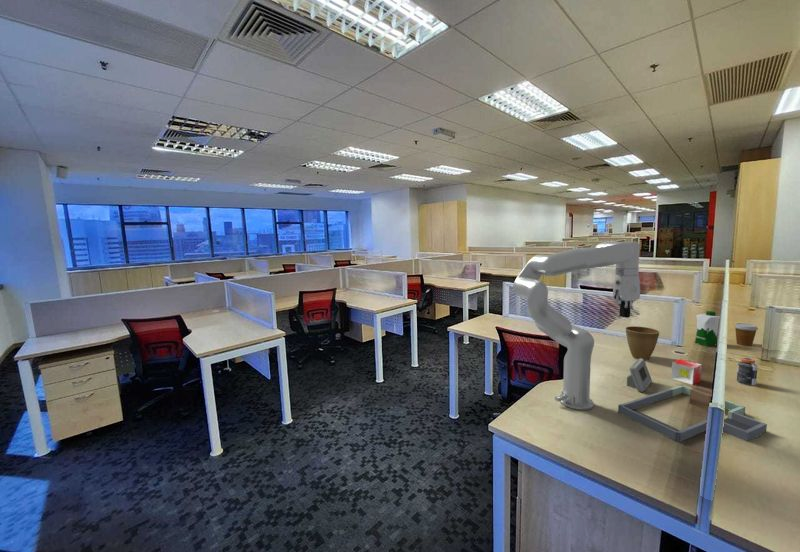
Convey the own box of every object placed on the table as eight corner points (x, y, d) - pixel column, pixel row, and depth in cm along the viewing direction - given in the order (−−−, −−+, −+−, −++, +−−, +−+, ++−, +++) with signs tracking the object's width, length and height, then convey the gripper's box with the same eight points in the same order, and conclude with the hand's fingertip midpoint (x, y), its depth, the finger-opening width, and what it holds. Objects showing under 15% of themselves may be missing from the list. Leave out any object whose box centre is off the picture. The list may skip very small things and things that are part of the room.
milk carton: (720, 345, 189) (722, 313, 187) (707, 347, 187) (710, 314, 185) (703, 341, 197) (705, 309, 195) (691, 342, 196) (693, 311, 194)
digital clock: (642, 394, 136) (643, 370, 135) (619, 386, 144) (620, 363, 143) (659, 384, 144) (660, 362, 143) (636, 377, 152) (637, 356, 151)
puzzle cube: (671, 378, 150) (672, 362, 149) (679, 374, 153) (680, 359, 152) (692, 385, 143) (694, 368, 142) (700, 381, 146) (702, 364, 145)
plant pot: (664, 363, 167) (666, 333, 165) (633, 362, 170) (634, 333, 168) (647, 353, 182) (648, 325, 180) (619, 352, 184) (620, 325, 182)
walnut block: (708, 410, 122) (709, 396, 121) (689, 403, 128) (690, 389, 127) (717, 407, 124) (718, 392, 123) (698, 400, 130) (699, 386, 129)
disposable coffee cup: (728, 343, 193) (730, 324, 191) (738, 341, 195) (740, 322, 194) (750, 348, 184) (751, 328, 182) (760, 345, 186) (762, 326, 185)
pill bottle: (760, 386, 139) (762, 361, 138) (743, 385, 140) (746, 361, 139) (748, 380, 145) (750, 356, 144) (732, 379, 146) (734, 356, 145)
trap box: (711, 458, 96) (712, 449, 96) (618, 412, 123) (618, 405, 123) (777, 426, 111) (778, 418, 110) (681, 391, 137) (681, 384, 137)
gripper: (623, 274, 121) (621, 321, 124) (648, 271, 127) (646, 316, 129) (604, 272, 128) (603, 317, 130) (629, 270, 134) (627, 312, 136)
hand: (624, 316), depth 130 cm, fingers closed
